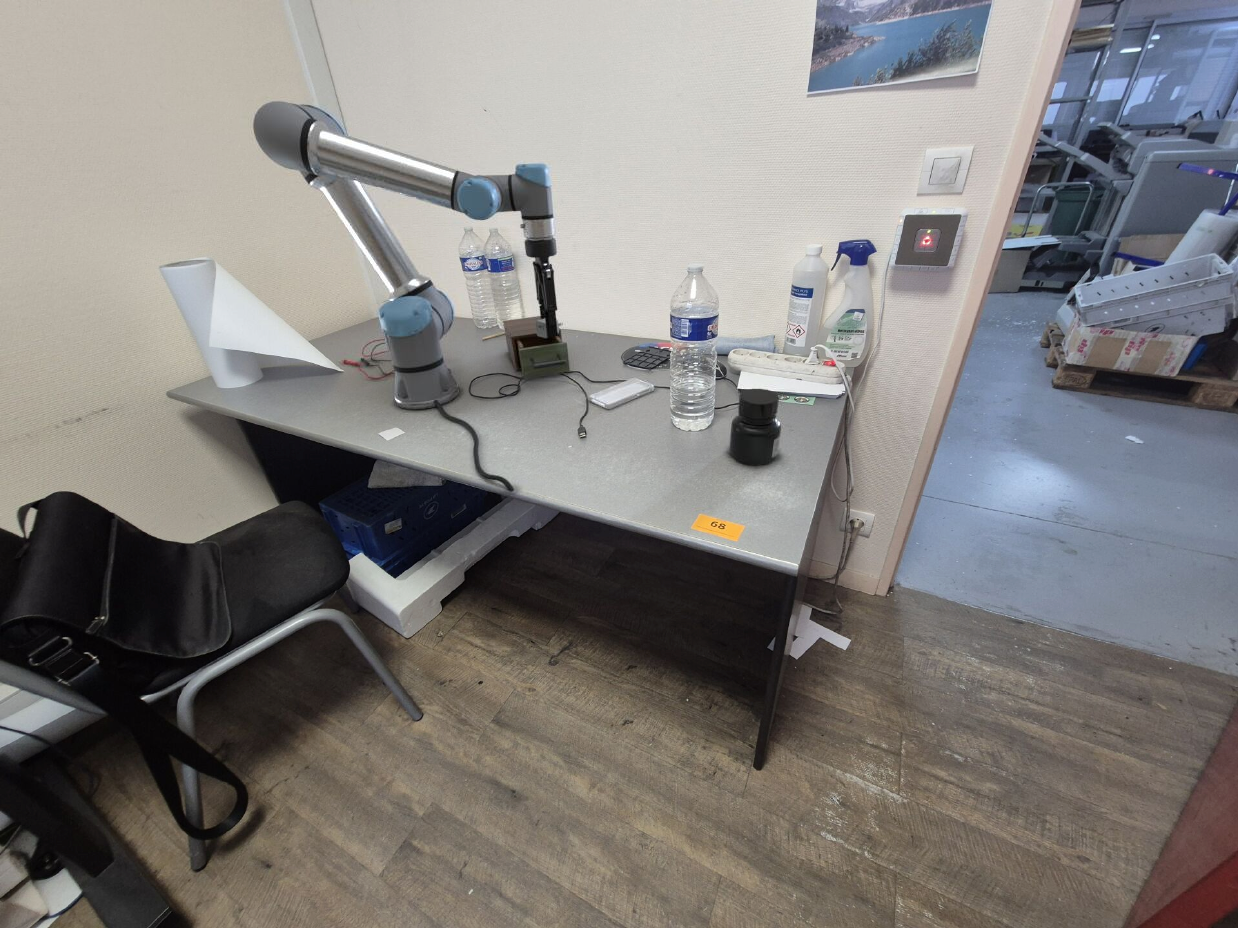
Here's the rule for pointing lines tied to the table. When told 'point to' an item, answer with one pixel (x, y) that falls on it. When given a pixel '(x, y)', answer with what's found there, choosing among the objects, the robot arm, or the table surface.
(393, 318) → the robot arm
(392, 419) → the table surface
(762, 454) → the ink bottle
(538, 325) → the usb wall charger
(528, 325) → the cabinet
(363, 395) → the table surface
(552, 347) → the drawer
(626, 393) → the phone case
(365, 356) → the multimeter test leads
